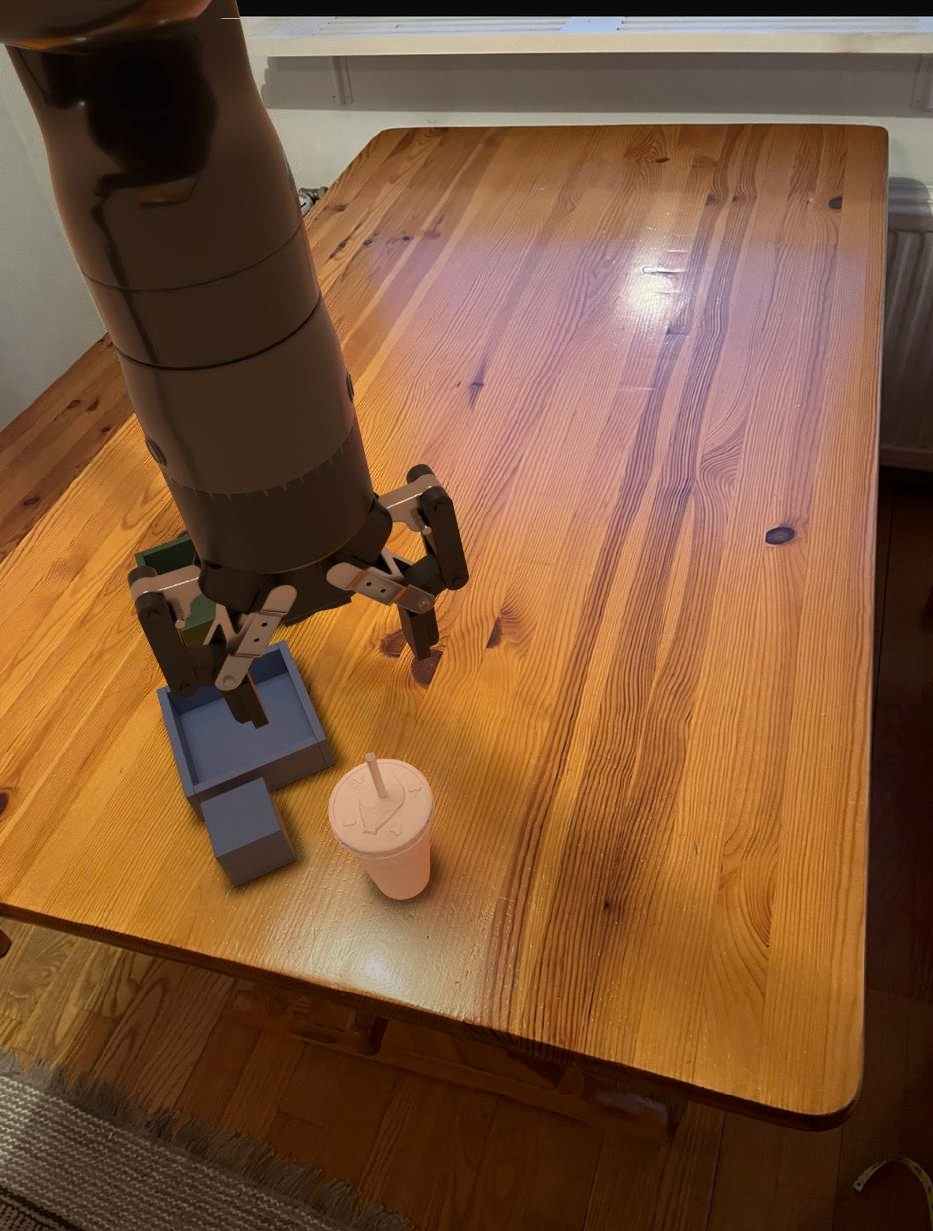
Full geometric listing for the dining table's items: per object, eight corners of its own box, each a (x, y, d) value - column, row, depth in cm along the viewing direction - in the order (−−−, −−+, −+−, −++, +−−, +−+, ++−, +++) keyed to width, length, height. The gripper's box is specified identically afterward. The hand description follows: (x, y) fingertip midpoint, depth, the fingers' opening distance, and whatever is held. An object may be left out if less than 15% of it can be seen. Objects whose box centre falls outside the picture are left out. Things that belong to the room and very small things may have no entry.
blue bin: (201, 821, 67) (185, 797, 64) (171, 715, 73) (155, 689, 71) (336, 764, 69) (326, 738, 66) (295, 665, 75) (285, 638, 73)
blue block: (234, 887, 63) (215, 858, 60) (219, 833, 66) (199, 802, 63) (297, 860, 64) (281, 829, 61) (279, 808, 67) (262, 776, 64)
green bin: (173, 666, 77) (158, 639, 74) (147, 580, 83) (133, 553, 81) (298, 617, 79) (288, 590, 76) (263, 538, 86) (253, 510, 83)
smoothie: (459, 838, 64) (435, 726, 54) (437, 928, 60) (406, 825, 50) (371, 823, 66) (331, 710, 55) (343, 909, 62) (294, 806, 51)
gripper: (394, 312, 38) (440, 581, 50) (45, 426, 35) (184, 681, 47) (470, 410, 33) (499, 680, 46) (74, 551, 30) (220, 798, 43)
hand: (339, 680), depth 46 cm, fingers open, 8 cm apart
